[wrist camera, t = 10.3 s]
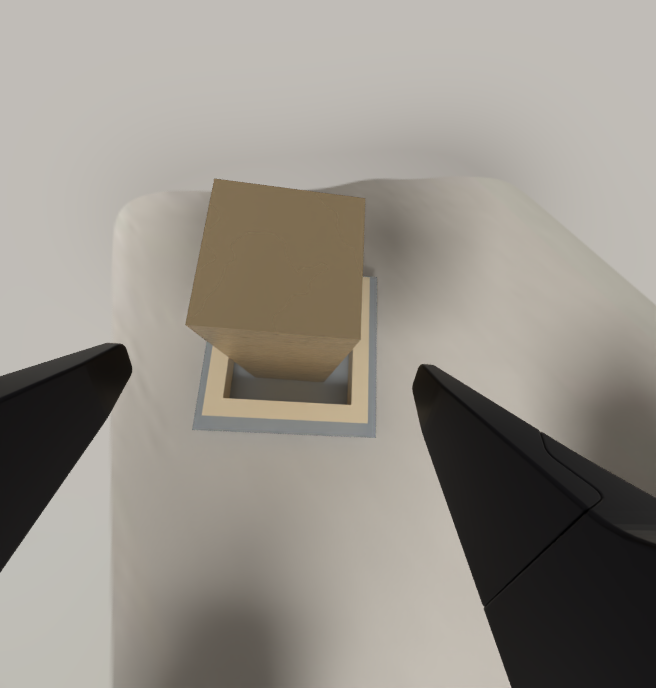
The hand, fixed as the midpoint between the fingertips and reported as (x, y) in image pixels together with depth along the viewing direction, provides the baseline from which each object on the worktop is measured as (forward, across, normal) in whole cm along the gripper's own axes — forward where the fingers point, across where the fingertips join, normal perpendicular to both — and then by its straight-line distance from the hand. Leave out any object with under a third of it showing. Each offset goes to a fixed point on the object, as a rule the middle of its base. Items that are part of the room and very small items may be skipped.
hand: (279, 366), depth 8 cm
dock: (+9, 0, +5) cm, 11 cm away
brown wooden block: (+8, 0, +4) cm, 10 cm away
